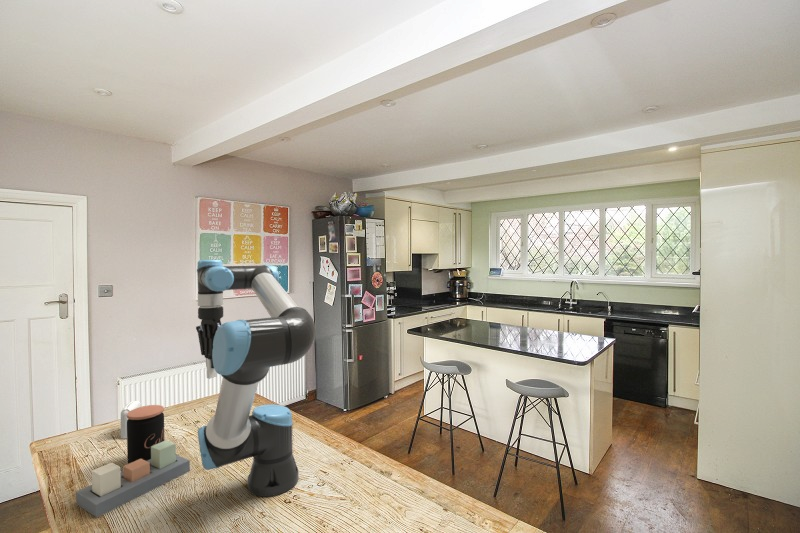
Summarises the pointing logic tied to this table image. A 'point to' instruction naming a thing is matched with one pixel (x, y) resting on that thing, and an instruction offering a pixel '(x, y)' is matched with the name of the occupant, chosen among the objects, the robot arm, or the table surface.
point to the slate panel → (130, 488)
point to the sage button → (163, 454)
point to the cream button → (106, 479)
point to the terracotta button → (136, 470)
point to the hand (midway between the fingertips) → (211, 377)
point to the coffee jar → (144, 431)
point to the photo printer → (124, 418)
